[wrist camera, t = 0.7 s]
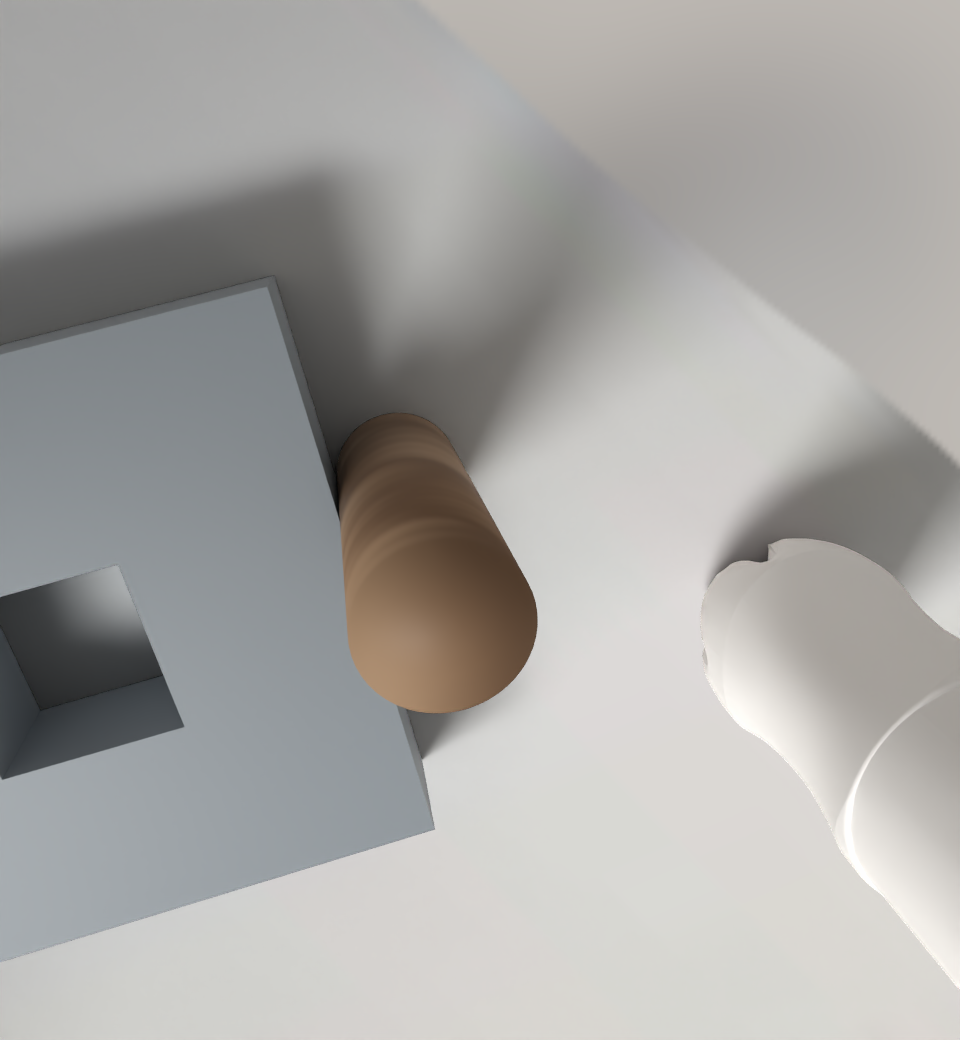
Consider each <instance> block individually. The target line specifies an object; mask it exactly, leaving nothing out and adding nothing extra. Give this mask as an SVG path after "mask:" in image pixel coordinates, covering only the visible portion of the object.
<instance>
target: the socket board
mask: <svg viewBox="0 0 960 1040" xmlns="http://www.w3.org/2000/svg"><path fill="white" fill-rule="evenodd" d="M115 565H118V566H119V568H120V571H121V573H122V576H123V578H124V580H125V583H126V585H127V588H128V590H129V593H130V595H131V598H132V600H133V602H134V605H135V607H136V610H137V612H138V615H139V617H140V619H141V622H142V624H143V627H144V629H145V632H146V634H147V637H148V639H149V641H150V644H151V646H152V649H153V651H154V654H155V656H156V658H157V661H158V663H159V666H160V668H161V671H162V673H163V676H160V677H156V678H153V679H149V680H146V681H142V682H139V683H135V684H132V685H128V686H125V687H121V688H118V689H114V690H111V691H107V692H104V693H100V694H97V695H93V696H90V697H86V698H83V699H79V700H76V701H72V702H69V703H65V704H62V705H58V706H55V707H51V708H48V709H44V710H41V711H40V709H39V707H38V705H37V702H36V700H35V698H34V696H33V694H32V692H31V690H30V688H29V686H28V683H27V681H26V679H25V677H24V675H23V673H22V671H21V669H20V667H19V664H18V662H17V660H16V658H15V656H14V654H13V652H12V650H11V648H10V645H9V643H8V641H7V639H6V637H5V635H4V633H3V631H2V629H1V626H0V962H3V961H6V960H9V959H13V958H16V957H19V956H23V955H26V954H29V953H32V952H36V951H39V950H42V949H45V948H49V947H52V946H55V945H58V944H62V943H65V942H68V941H72V940H75V939H78V938H81V937H85V936H88V935H91V934H94V933H98V932H101V931H104V930H108V929H111V928H114V927H117V926H121V925H124V924H127V923H130V922H134V921H137V920H140V919H144V918H147V917H150V916H153V915H157V914H160V913H163V912H166V911H170V910H173V909H176V908H180V907H183V906H186V905H189V904H193V903H196V902H199V901H202V900H206V899H209V898H212V897H215V896H219V895H222V894H225V893H229V892H232V891H235V890H238V889H242V888H245V887H248V886H251V885H255V884H258V883H261V882H265V881H268V880H271V879H274V878H278V877H281V876H284V875H287V874H291V873H294V872H297V871H301V870H304V869H307V868H310V867H314V866H317V865H320V864H323V863H327V862H330V861H333V860H336V859H340V858H343V857H346V856H350V855H353V854H356V853H359V852H363V851H366V850H369V849H372V848H376V847H379V846H382V845H386V844H389V843H392V842H395V841H399V840H402V839H405V838H408V837H412V836H415V835H418V834H422V833H425V832H428V831H431V830H435V828H434V822H433V817H432V811H431V806H430V801H429V795H428V790H427V785H426V779H425V774H424V768H423V763H422V759H421V756H420V752H419V749H418V746H417V743H416V739H415V736H414V733H413V729H412V726H411V723H410V720H409V716H408V713H407V710H406V708H403V707H400V706H398V705H395V704H393V703H392V702H390V701H388V700H386V699H385V698H383V697H382V696H380V695H379V694H378V693H376V692H375V691H374V690H373V689H372V688H371V687H370V686H369V685H368V684H367V683H366V681H365V680H364V679H363V678H362V676H361V675H360V673H359V672H358V670H357V668H356V666H355V664H354V661H353V659H352V657H351V653H350V649H349V644H348V633H347V618H346V604H345V589H344V574H343V559H342V545H341V530H340V515H339V500H338V486H337V480H336V477H335V474H334V470H333V467H332V464H331V460H330V457H329V454H328V451H327V447H326V444H325V441H324V437H323V434H322V431H321V428H320V424H319V421H318V418H317V414H316V411H315V408H314V405H313V401H312V398H311V395H310V392H309V388H308V385H307V382H306V378H305V375H304V372H303V369H302V365H301V362H300V359H299V355H298V352H297V349H296V346H295V342H294V339H293V336H292V332H291V329H290V326H289V323H288V319H287V316H286V313H285V309H284V306H283V303H282V300H281V296H280V293H279V290H278V287H277V283H276V280H275V277H274V276H270V277H266V278H262V279H258V280H255V281H251V282H247V283H243V284H239V285H235V286H231V287H227V288H223V289H219V290H215V291H211V292H207V293H203V294H199V295H196V296H192V297H188V298H184V299H180V300H176V301H172V302H168V303H164V304H160V305H156V306H152V307H148V308H144V309H140V310H137V311H133V312H129V313H125V314H121V315H117V316H113V317H109V318H105V319H101V320H97V321H93V322H89V323H85V324H82V325H78V326H74V327H70V328H66V329H62V330H58V331H54V332H50V333H46V334H42V335H38V336H34V337H30V338H26V339H23V340H19V341H15V342H11V343H7V344H3V345H0V597H2V596H6V595H9V594H13V593H17V592H20V591H24V590H28V589H31V588H35V587H38V586H42V585H46V584H49V583H53V582H57V581H60V580H64V579H67V578H71V577H75V576H78V575H82V574H86V573H89V572H93V571H97V570H100V569H104V568H107V567H111V566H115Z"/></svg>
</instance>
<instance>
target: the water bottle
mask: <svg viewBox="0 0 960 1040" xmlns="http://www.w3.org/2000/svg"><path fill="white" fill-rule="evenodd" d="M768 550H769V551H768V561H766V562H762V563H758V562H753V561H737V562H734V563H732V564H730V565H729V566H728V567H727V568H725V569H724V570H723V571H721V572H720V573H718V574H717V575H716V577H715V578H714V580H713V581H712V582H711V584H710V586H709V588H708V589H707V591H706V593H705V595H704V599H703V602H702V607H701V624H700V628H701V636H702V640H703V643H704V646H705V648H704V650H703V654H702V657H703V665H704V673H705V675H706V677H707V680H708V682H709V684H710V686H711V687H712V689H713V691H714V692H715V694H716V696H717V697H718V699H719V700H720V702H721V703H722V705H723V706H724V708H725V709H726V710H727V711H728V713H729V714H730V715H731V716H732V718H733V719H734V720H735V721H736V722H737V723H738V724H739V725H740V726H741V727H742V728H744V729H745V730H747V731H748V732H750V733H752V734H754V735H756V736H758V737H759V738H760V739H762V740H763V741H765V742H766V743H767V744H768V745H770V746H771V747H772V748H773V749H774V750H775V751H776V752H777V753H779V754H780V755H781V756H782V757H783V758H784V759H785V760H786V761H787V763H788V764H789V765H790V766H791V767H792V768H793V769H794V770H795V771H796V772H797V774H798V775H799V776H800V778H801V779H802V780H803V781H804V783H805V784H806V785H807V787H808V789H809V790H810V792H811V793H812V795H813V796H814V798H815V800H816V801H817V803H818V805H819V807H820V809H821V811H822V812H823V814H824V816H825V818H826V820H827V822H828V824H829V826H830V829H831V831H832V833H833V836H834V838H835V840H836V843H837V845H838V847H839V849H840V851H841V852H842V854H843V855H844V856H845V858H846V859H847V860H848V861H849V863H850V864H851V865H852V866H853V868H854V869H855V870H856V871H857V873H858V874H859V875H860V876H861V877H862V878H863V879H864V881H865V882H866V883H867V884H868V885H870V886H871V887H872V888H873V889H875V890H876V891H877V892H879V893H880V894H882V896H883V897H884V898H885V899H886V900H887V902H888V903H889V904H890V905H891V907H892V908H893V909H894V910H895V911H896V913H897V914H898V915H899V916H900V918H901V919H902V920H903V921H904V922H905V924H906V925H907V926H908V927H909V929H910V930H911V931H912V932H913V934H914V935H915V936H916V937H917V938H918V940H919V941H920V942H921V943H922V945H923V946H924V947H925V948H926V949H927V951H928V952H929V953H930V954H931V956H932V957H933V958H934V959H935V960H936V962H937V963H938V964H939V965H940V967H941V968H942V969H943V970H944V972H945V973H946V974H947V975H948V976H949V978H950V979H951V980H952V981H953V983H954V984H955V985H956V986H957V987H958V989H959V990H960V639H959V638H957V637H956V636H954V635H952V634H951V633H949V632H947V631H946V630H944V629H943V628H942V627H940V626H939V625H938V624H937V623H936V622H934V621H933V620H932V619H931V618H930V617H929V616H928V615H927V614H926V613H925V612H924V611H923V610H922V609H921V608H920V607H919V606H918V604H917V603H916V602H915V601H914V600H913V599H912V598H911V596H910V595H909V593H908V592H907V591H906V589H905V588H904V587H903V586H902V584H901V583H900V582H899V581H898V580H897V579H896V578H895V577H894V576H893V575H892V574H890V573H889V572H888V571H887V570H885V569H884V568H883V567H881V566H880V565H878V564H876V563H875V562H873V561H872V560H870V559H868V558H867V557H865V556H863V555H861V554H859V553H857V552H855V551H853V550H851V549H848V548H846V547H843V546H840V545H838V544H834V543H831V542H827V541H821V540H815V539H805V538H790V539H781V540H779V541H776V542H774V543H773V544H768Z"/></svg>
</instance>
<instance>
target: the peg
mask: <svg viewBox="0 0 960 1040" xmlns="http://www.w3.org/2000/svg"><path fill="white" fill-rule="evenodd" d="M337 486H338V500H339V515H340V530H341V545H342V559H343V574H344V589H345V604H346V618H347V633H348V644H349V649H350V653H351V657H352V659H353V661H354V664H355V666H356V668H357V670H358V672H359V673H360V675H361V676H362V678H363V679H364V680H365V681H366V683H367V684H368V685H369V686H370V687H371V688H372V689H373V690H374V691H375V692H376V693H378V694H379V695H380V696H382V697H383V698H385V699H386V700H388V701H390V702H392V703H393V704H395V705H398V706H400V707H403V708H406V709H409V710H413V711H417V712H424V713H448V712H456V711H460V710H464V709H468V708H470V707H473V706H476V705H479V704H481V703H483V702H485V701H487V700H489V699H490V698H492V697H493V696H495V695H496V694H498V693H499V692H501V691H502V690H503V689H504V688H505V687H507V686H508V685H509V684H510V683H511V682H512V681H513V680H514V679H515V678H516V676H517V675H518V674H519V672H520V671H521V670H522V668H523V667H524V665H525V663H526V662H527V660H528V658H529V656H530V654H531V651H532V649H533V646H534V642H535V638H536V633H537V609H536V602H535V599H534V596H533V593H532V590H531V588H530V586H529V584H528V582H527V580H526V578H525V577H524V575H523V573H522V571H521V569H520V568H519V566H518V564H517V562H516V560H515V559H514V557H513V555H512V553H511V551H510V550H509V548H508V546H507V544H506V542H505V540H504V539H503V537H502V535H501V533H500V531H499V530H498V528H497V526H496V524H495V522H494V521H493V519H492V517H491V515H490V513H489V512H488V510H487V508H486V506H485V504H484V503H483V501H482V499H481V497H480V495H479V493H478V492H477V490H476V488H475V486H474V484H473V483H472V481H471V479H470V477H469V475H468V474H467V472H466V470H465V468H464V466H463V465H462V463H461V461H460V459H459V457H458V455H457V454H456V452H455V450H454V448H453V446H452V445H451V443H450V441H449V440H448V438H447V437H446V435H445V434H444V433H443V432H442V431H441V430H440V429H439V428H438V427H437V426H436V425H434V424H433V423H431V422H430V421H428V420H426V419H424V418H422V417H419V416H416V415H412V414H407V413H389V414H385V415H380V416H378V417H375V418H372V419H370V420H368V421H366V422H365V423H363V424H362V425H360V426H359V427H358V428H357V429H356V430H355V431H354V432H353V433H352V434H351V435H350V436H349V437H348V439H347V440H346V442H345V443H344V445H343V447H342V449H341V452H340V455H339V458H338V463H337Z"/></svg>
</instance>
